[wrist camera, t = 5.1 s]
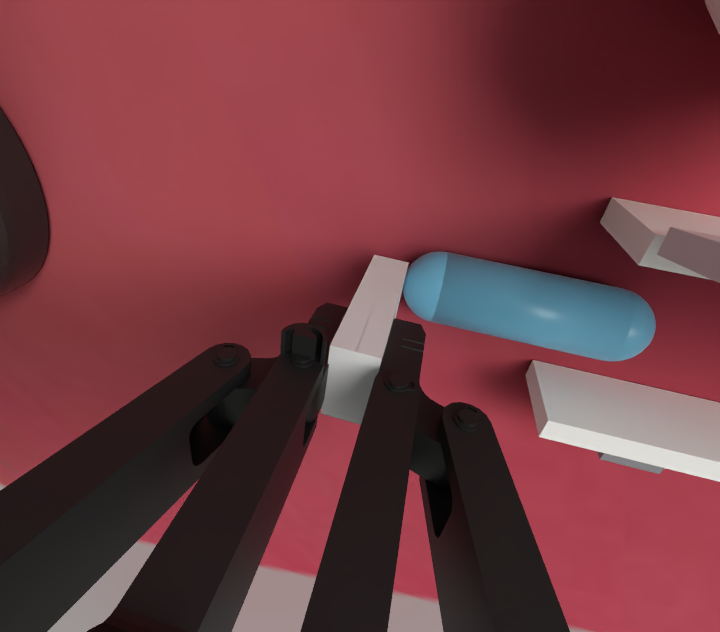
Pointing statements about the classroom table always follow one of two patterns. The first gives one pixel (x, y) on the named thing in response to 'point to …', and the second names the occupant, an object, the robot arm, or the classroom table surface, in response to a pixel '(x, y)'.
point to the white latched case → (626, 399)
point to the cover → (693, 251)
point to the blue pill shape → (529, 306)
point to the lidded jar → (714, 12)
